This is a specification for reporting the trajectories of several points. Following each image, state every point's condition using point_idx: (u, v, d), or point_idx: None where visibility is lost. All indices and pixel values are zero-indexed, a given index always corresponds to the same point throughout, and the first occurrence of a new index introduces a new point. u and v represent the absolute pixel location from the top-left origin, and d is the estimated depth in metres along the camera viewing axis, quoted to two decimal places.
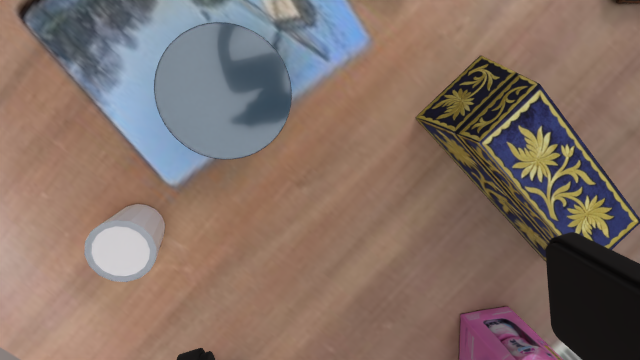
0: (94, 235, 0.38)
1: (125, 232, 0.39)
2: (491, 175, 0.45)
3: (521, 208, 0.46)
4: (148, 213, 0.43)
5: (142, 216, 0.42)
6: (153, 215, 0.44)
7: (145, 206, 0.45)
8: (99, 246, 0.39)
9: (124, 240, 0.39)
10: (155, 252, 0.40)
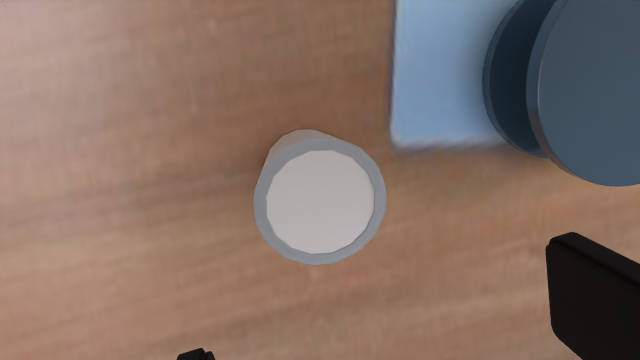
0: (306, 148, 0.19)
1: (355, 177, 0.19)
2: None
3: None
4: None
5: None
6: None
7: None
8: (297, 172, 0.19)
9: (342, 189, 0.20)
10: (367, 239, 0.21)
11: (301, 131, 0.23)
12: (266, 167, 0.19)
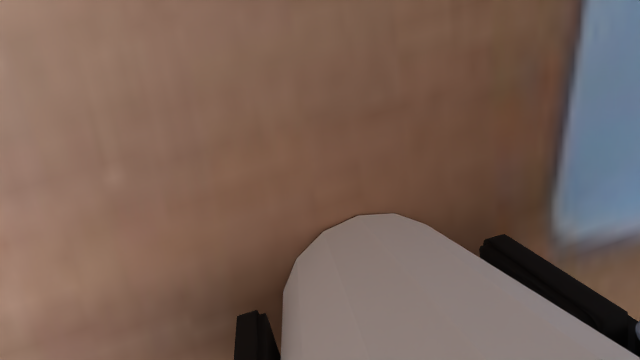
0: None
1: None
2: None
3: None
4: None
5: None
6: None
7: None
8: None
9: None
10: None
11: (381, 236, 0.09)
12: None
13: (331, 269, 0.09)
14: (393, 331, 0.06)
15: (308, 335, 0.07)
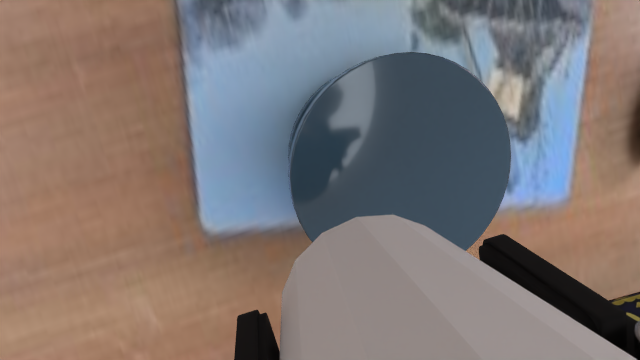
0: None
1: None
2: None
3: None
4: None
5: None
6: None
7: None
8: None
9: None
10: None
11: (380, 238, 0.09)
12: None
13: (330, 271, 0.09)
14: (392, 333, 0.06)
15: (307, 337, 0.07)
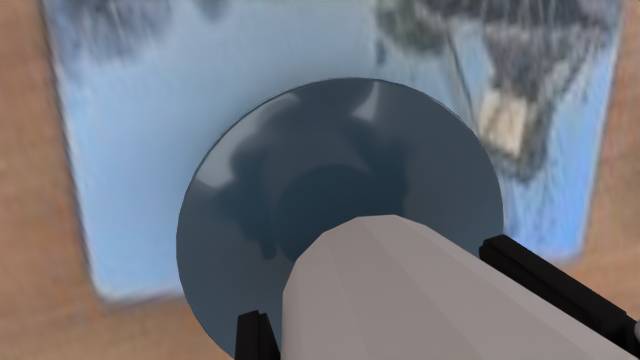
0: None
1: None
2: None
3: None
4: None
5: None
6: None
7: None
8: None
9: None
10: None
11: (381, 238, 0.09)
12: None
13: (331, 271, 0.09)
14: (393, 333, 0.06)
15: (308, 337, 0.07)
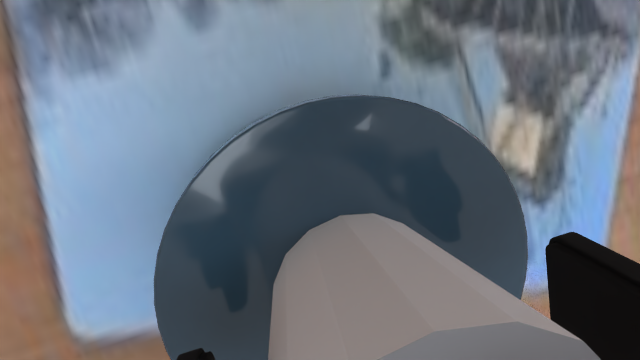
0: None
1: None
2: None
3: None
4: None
5: None
6: None
7: None
8: None
9: None
10: None
11: (359, 232, 0.11)
12: None
13: (314, 261, 0.10)
14: (359, 306, 0.07)
15: (292, 316, 0.09)
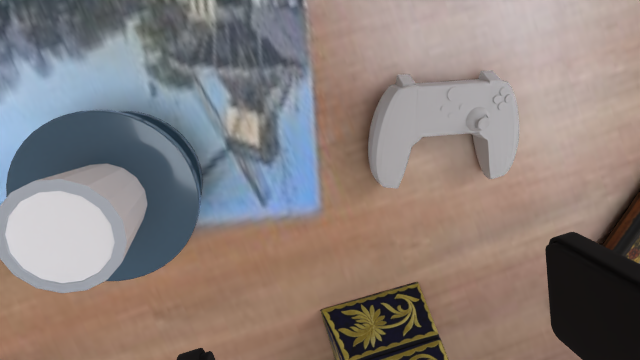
0: (34, 190, 0.21)
1: (89, 213, 0.22)
2: None
3: None
4: (135, 194, 0.26)
5: (126, 197, 0.24)
6: (139, 200, 0.27)
7: (134, 179, 0.28)
8: (30, 211, 0.21)
9: (79, 224, 0.22)
10: (115, 267, 0.23)
11: (79, 168, 0.26)
12: None
13: None
14: None
15: None
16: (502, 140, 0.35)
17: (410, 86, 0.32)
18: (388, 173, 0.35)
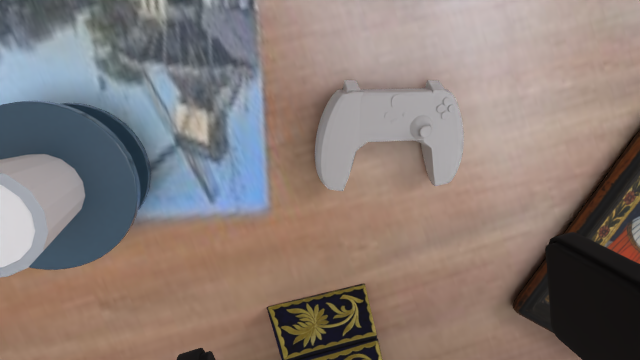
0: None
1: (10, 201, 0.22)
2: None
3: None
4: (68, 185, 0.27)
5: (55, 187, 0.25)
6: (72, 191, 0.27)
7: (71, 170, 0.28)
8: None
9: None
10: (36, 255, 0.23)
11: (13, 157, 0.26)
12: None
13: None
14: None
15: None
16: (446, 148, 0.36)
17: (354, 92, 0.33)
18: (333, 176, 0.36)
